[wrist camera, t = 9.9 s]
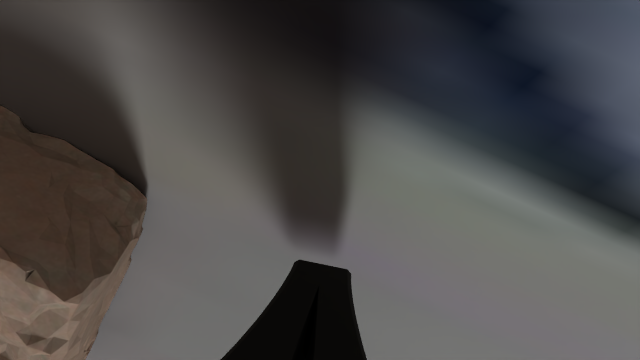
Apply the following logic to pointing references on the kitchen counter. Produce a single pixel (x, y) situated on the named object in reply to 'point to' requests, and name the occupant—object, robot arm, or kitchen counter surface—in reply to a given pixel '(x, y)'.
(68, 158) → the brick
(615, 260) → the kitchen counter surface
